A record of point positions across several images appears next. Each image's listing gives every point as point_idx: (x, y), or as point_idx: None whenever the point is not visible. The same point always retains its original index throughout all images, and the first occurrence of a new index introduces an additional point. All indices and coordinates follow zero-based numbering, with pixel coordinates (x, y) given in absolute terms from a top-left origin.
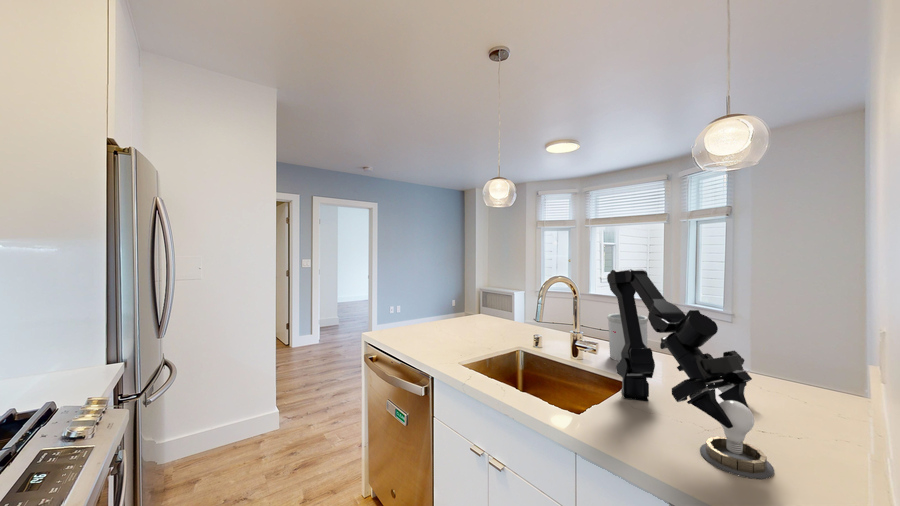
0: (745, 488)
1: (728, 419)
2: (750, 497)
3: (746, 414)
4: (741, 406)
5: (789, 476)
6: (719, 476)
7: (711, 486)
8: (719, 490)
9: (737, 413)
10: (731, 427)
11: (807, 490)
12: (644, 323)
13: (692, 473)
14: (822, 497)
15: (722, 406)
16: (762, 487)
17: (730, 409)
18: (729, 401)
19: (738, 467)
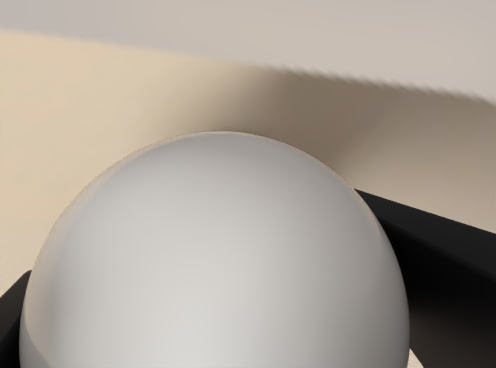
0: (327, 120)
1: (376, 208)
2: (347, 81)
3: (227, 132)
4: (225, 188)
5: (79, 158)
6: (369, 190)
7: (437, 144)
8: (424, 123)
9: (318, 164)
10: None
11: (106, 81)
12: None
13: (460, 218)
14: (95, 46)
15: (408, 331)
16: (260, 116)
17: (373, 219)
18: (310, 355)
19: None
